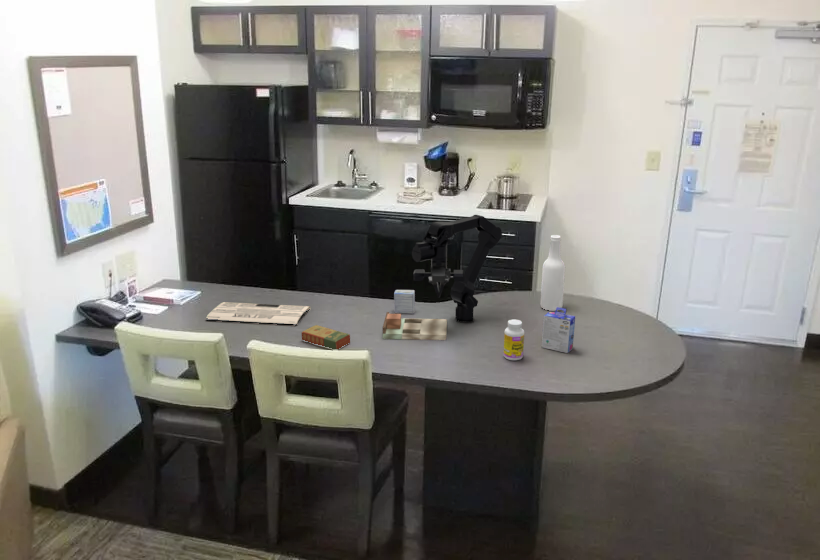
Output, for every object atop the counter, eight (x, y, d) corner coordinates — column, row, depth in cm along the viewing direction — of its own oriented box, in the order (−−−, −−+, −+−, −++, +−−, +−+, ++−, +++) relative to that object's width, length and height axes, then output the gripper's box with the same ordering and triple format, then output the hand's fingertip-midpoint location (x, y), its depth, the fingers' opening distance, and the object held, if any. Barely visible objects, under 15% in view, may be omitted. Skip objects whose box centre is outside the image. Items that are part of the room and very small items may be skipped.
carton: (316, 334, 248) (316, 324, 247) (351, 344, 240) (350, 333, 239) (301, 342, 242) (301, 331, 240) (336, 352, 233) (335, 341, 232)
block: (401, 323, 251) (401, 313, 250) (400, 328, 247) (400, 318, 245) (388, 323, 252) (387, 313, 250) (386, 328, 247) (386, 318, 246)
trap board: (446, 324, 256) (446, 313, 254) (446, 340, 242) (446, 328, 240) (386, 322, 257) (386, 312, 256) (382, 338, 243) (382, 327, 242)
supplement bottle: (509, 362, 224) (511, 327, 220) (499, 354, 229) (501, 320, 225) (526, 358, 226) (528, 323, 222) (516, 351, 232) (518, 317, 228)
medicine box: (415, 310, 270) (414, 289, 267) (414, 314, 266) (413, 293, 263) (395, 309, 271) (395, 289, 268) (394, 313, 267) (393, 293, 264)
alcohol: (539, 303, 276) (543, 232, 266) (561, 304, 275) (566, 233, 265) (540, 311, 267) (544, 238, 258) (563, 312, 266) (568, 239, 257)
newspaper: (310, 310, 272) (310, 304, 271) (295, 329, 254) (295, 322, 253) (225, 306, 277) (224, 300, 277) (204, 324, 259) (203, 317, 258)
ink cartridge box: (573, 348, 234) (576, 309, 229) (568, 354, 230) (571, 314, 225) (546, 342, 239) (549, 304, 234) (541, 347, 235) (543, 309, 230)
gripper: (412, 263, 237) (412, 304, 242) (464, 263, 236) (464, 305, 241) (414, 254, 248) (414, 294, 253) (464, 254, 247) (463, 294, 252)
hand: (438, 297), depth 249 cm, fingers closed
